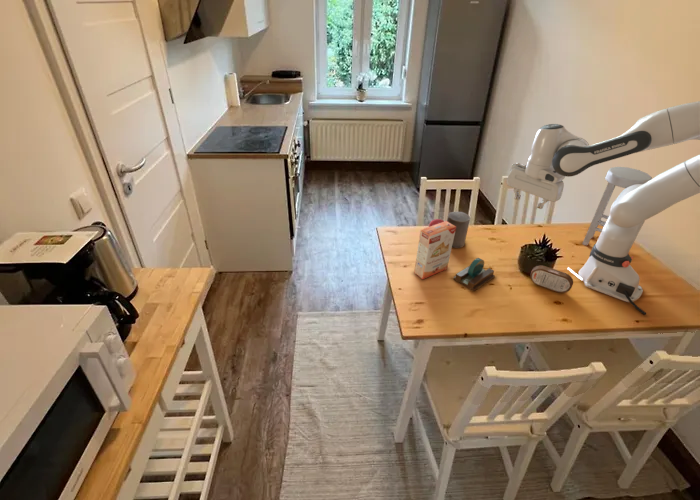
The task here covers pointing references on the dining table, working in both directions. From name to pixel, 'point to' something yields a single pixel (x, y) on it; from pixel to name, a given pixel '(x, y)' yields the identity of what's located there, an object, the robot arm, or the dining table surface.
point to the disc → (476, 267)
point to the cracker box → (434, 249)
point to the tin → (551, 279)
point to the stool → (615, 178)
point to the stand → (474, 282)
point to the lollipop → (435, 222)
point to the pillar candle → (459, 227)
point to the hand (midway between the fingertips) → (528, 203)
